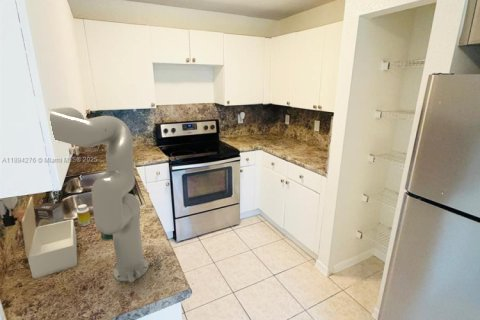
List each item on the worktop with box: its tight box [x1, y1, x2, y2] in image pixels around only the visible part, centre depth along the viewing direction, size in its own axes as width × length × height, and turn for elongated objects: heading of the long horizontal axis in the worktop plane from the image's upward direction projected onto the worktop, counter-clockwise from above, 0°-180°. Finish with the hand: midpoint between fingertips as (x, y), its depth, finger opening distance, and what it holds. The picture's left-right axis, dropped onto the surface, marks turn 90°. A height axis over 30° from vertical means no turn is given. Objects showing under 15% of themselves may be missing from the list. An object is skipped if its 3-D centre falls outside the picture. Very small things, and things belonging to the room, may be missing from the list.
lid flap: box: [11, 196, 37, 258], centre depth 100 cm, size 24×14×6 cm
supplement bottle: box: [76, 203, 92, 227], centre depth 133 cm, size 6×6×10 cm
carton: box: [27, 219, 78, 280], centre depth 108 cm, size 24×14×10 cm, turn 32°
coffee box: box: [34, 202, 66, 227], centre depth 121 cm, size 9×6×16 cm
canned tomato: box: [100, 231, 113, 241], centre depth 122 cm, size 8×8×11 cm
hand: (11, 223), depth 98 cm, fingers closed on lid flap, 3 cm apart
